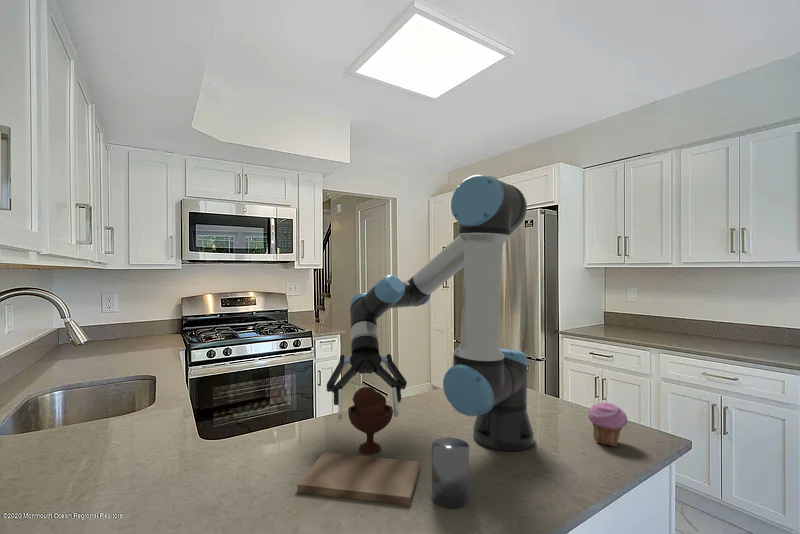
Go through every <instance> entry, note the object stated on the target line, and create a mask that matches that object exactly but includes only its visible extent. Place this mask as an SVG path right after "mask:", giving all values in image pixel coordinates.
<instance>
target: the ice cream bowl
mask: <svg viewBox="0 0 800 534" xmlns="http://www.w3.org/2000/svg"><path fill="white" fill-rule="evenodd" d="M352 402H353V405H352V406H349V407H348V411H347V412H348V413H347V414H348V419H349V422H350V423H351V425H352V426H353V427H354V428H355V429H357V430H358V431H360V432H362V433H364V434H365V435H366V441H365V442H362V444H360V445H358V452H360V453H362V454H364V455H365V454H366V455H375V454H379V453H380V452H381V451H382V446H381V444H379V443H377V442H375V441H374V437H375V434H376V433H378V432H380V431H382V430H383V429H385V428H386V427H387V425H389V424H390V423H391V421H392V419H393V415H394V408H393V406H390V405H388V404H387V398H386V397H385V396H384V395H383V394H381V392H378V391H376V390H375V389H374V388H373V387H371V386H368V387H367V386H363V387H361V388H359V389H358V390H356V392H354V395H353V397H352Z"/></svg>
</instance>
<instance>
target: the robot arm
mask: <svg viewBox="0 0 800 534" xmlns="http://www.w3.org/2000/svg"><path fill="white" fill-rule="evenodd" d="M527 206H528V204H527V200H526V197H525V195H524V194H523V192H522V191H521V189H519V188H518V187H516V186H514V185H512V184H509V183H506V182H504V181H501V180H499V179H497V178H496V177H495V176H490V175H483V174H476V175H472V176H469V177H467V178H466V179H464V180H462V181H461V183H460V184H459V185H458V186H457V187H456V189H455V190H454V192H453V194H452V197H451V199H450V209H451V214H452V216H453V217H454V219H455V220H456V222H457V223H458V236H457V237H456V238H454V240H452V241H451V242H450V243H449V244H448V245H447V246H446V247H445V248H443V249H442V250H441V251H440V252H439V253H438V254H437V255H435V256H434V257H433V258H432V259H431V260H429V262H428V263H426V264H425V265H424V266H423V267H422V268H421V269H420V270H419V271H417V272H416V273H415V274H414V275H413V276H412V277H410V278H409V279H408V280H406V281H402V280H401V279H400V278H399V277H398V276H394V275H393V274H387V275H385V276H384V277H383V278H381V279H380V280H379V281H377V282H376V284H375V285H374V286H373V287H372V288H371V289H370V290H368V292H360V293H358V294H355V295H354V296H353V297H352V298H351V300H350V306H349V307H350V308H349V313H350V315H349V316H350V342H351V344H350V345H351V347H350V349H351V350H350V351H351V352H350V353H351V356H349V357H348V356H345V355H344V354H341V355H340V356H339V361H338V364H337V365H336V367H335V369H334V371H333V372H332V374H331V376H330V377H329V379H328V381H327V382H326V391H327V392H331V393H333V405H334V406H338V408H337V409H338V411H337V414H338V415H337V417H338V420H339V421H340V420H342V418H343V412H342V411H343V410H342V409H343V408H342V407H343V401H342V399H343V397H342V396H343V389H344V387H345V386H346V385H347V384H348V382H350V381H351V379H353V377H355V376H356V375H357V374H358V373H359V374H362V375H363V374H369V375H370V374H373V373H374V374H375V375H376V376H379V377H380V378H381V380H383V381H384V382H385V383H386V384H387V385H388V386H389V387H390V388H391V389H392V390H391V395H392V398H391V399H392V405H393V406H392V409H393V415H394V416H393V417H394V418H397V417H398V416H399V413H400V412H399V411H400V410H399V403H401V401H402V391H401V390H405V389H406V388H407V383H408V382H407V380H406V378H405V377H404V375H403V374H402V373H401V372H400V370H399V368H398V367H397V365H396V364H395V363H394V361H393V359H392V355H391V354H390V353H387V355H386V356H382V355H381V354H380V348H379V347H380V345H379V334H378V323H377V320H378V319H379V318H380V317H382V316H383V315H384V313H386V312H387V311H388V310H390V309H397V308H407V307H419V306H423V305H426V304H427V303H428V302H429V300H430V298H431V295H432V294H433V293H434V291H437V290H438V289H439V288H440V287H441V286H442V285H444V284H445V283H446V282H447V281H449V280H450V279H451V278H452V277H453V276H455V275H456V274H457V273H458V272H459V271H461V270H462V269H463V282H462V283H463V284H462V303H461V304H462V306H461V307H462V308H461V325H460V326H461V327H460V344H459V345H458V347H456V348H455V349H454V350H453V360H452V366H450V368H449V369H448V370H447V371H446V372H445V374H444V376H443V381H442V387H443V388H442V389H443V392H444V396H445V398H446V399H447V402H449V404H450V405H451V407H452V408H453V409H454V410H455V411H456V412H458V413H460V414H462V415H464V416H466V417H476V418H475V420H474V424H473V426H472V427H473V428H472V436H473V439H474V440H475V441H476V442H477V443H479V444H481V445H482V446H485V447H487V448H490V449H493V450H498V451H508V452H517V451H524V450H527V449H529V448H532V447H533V445H534V441H535V440H534V439H535V436H534V430H533V427H532V424H531V420H530V418H529V414H528V411H527V410H528V408H527V406H528V405H527V402H528V401H527V400H528V394H527V393H528V367H529V365H528V357H527V354H526V353H525V352H524V351H521V350H520V351H519V350H515V349H509V348H501V347H499V336H500V335H499V333H500V330H499V329H500V315H501V314H500V310H501V309H500V308H501V293H502V292H501V288H502V287H501V286H502V270H503V269H502V268H503V267H502V266H503V247H504V243H505V242H506V241H507V240H508V239H510V237H511V234H512V233H513V232H515V231H516V230H517V229H518V227H520V225H521V224H522V223H523V221H524V220H525V218H526V214H527V208H528V207H527ZM349 363H350V365H351V366H350V368H349V370H347V371H346V373H344V375H343V376H342V377H341V378H340V379H339V377H340V376H341V374H342V371H343V370H344V367H346V366H347V365H348V364H349ZM381 363H383V364H384V365H385V366H386V367H387V370H389V372H390V373H389V372H388V371H387V370H386V369H385V368H384V367H383V366H382V364H381ZM338 379H339V380H338ZM336 382H337V383H336Z"/></svg>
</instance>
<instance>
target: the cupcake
mask: <svg viewBox="0 0 800 534" xmlns="http://www.w3.org/2000/svg"><path fill="white" fill-rule="evenodd" d="M587 411H588V413H587V417H588V420H589V421H590V422H591V423H592V426H593V438H594V439H593V440H594V441H595V442H596V443H598V444H601V445H607V446H609V447H614V448H615V447H617V445H618V441H619V438H620V434H621V431H622V429H623V428H624V427H625V426H627V424H628V416H627V415H626V413H625V411H624V410H623V409H622V408H621V407H619V406H618V405H616V404H614V403H611V402H598V403H595V404H594V405H591V407H589V408H588V410H587Z"/></svg>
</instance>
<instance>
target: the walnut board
mask: <svg viewBox="0 0 800 534" xmlns="http://www.w3.org/2000/svg"><path fill="white" fill-rule="evenodd" d="M420 469H421V461H417V460H416V461H415V460H407V459H397V458H386V457H377V456H367V455H366V456H365V455H355V454H348V453H347V454H345V453H336V452H326V451H324V452H323V453H322V454H321V455H320V456H319V457H318V458H317V460H316V461H315V462H314V464H313V465H312V466H311V467H310V469H309V470H308V471H307V472H306V474H305V475H304V476H303V477H302V478H301V479H300V481H299V482H298V483H297V486H296V487H297V489H296V493H299V494H301V493H302V494H308V495H315V496H316V495H319V496H325V497H332V498H334V497H335V498H344V499H351V500H358V501H359V500H360V501H368V502H378V503H386V504H395V505H400V506H401V505H402V506H409V507H410V506H411V504H412V499H413V496H414V491H415V489H416V485H417V481H418V477H419V474H420Z"/></svg>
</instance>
